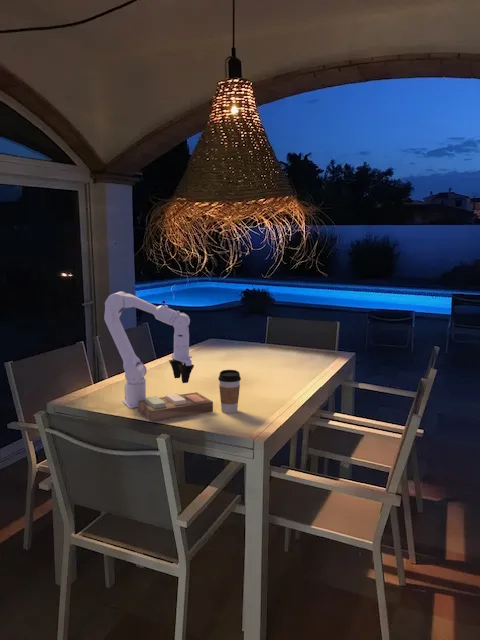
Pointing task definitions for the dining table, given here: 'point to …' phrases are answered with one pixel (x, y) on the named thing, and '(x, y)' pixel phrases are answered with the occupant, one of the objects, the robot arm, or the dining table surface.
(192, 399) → the terracotta button
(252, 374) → the dining table surface
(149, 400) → the sage button
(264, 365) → the dining table surface
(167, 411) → the button board
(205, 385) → the dining table surface
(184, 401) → the cream button
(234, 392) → the coffee cup
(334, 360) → the dining table surface
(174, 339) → the robot arm
